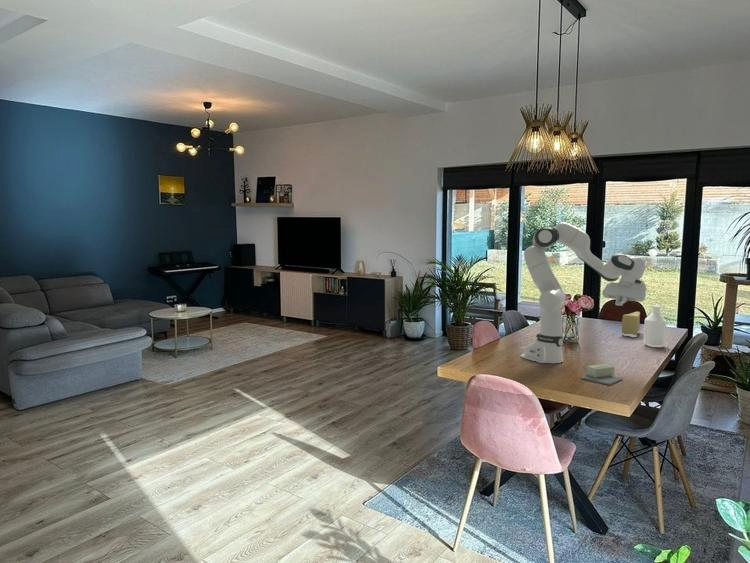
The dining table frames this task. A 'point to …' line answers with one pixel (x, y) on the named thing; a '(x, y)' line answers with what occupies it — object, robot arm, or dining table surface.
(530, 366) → the dining table surface
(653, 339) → the bottle
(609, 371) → the skincare box
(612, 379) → the mat
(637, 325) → the cheese
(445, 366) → the dining table surface
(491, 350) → the dining table surface
